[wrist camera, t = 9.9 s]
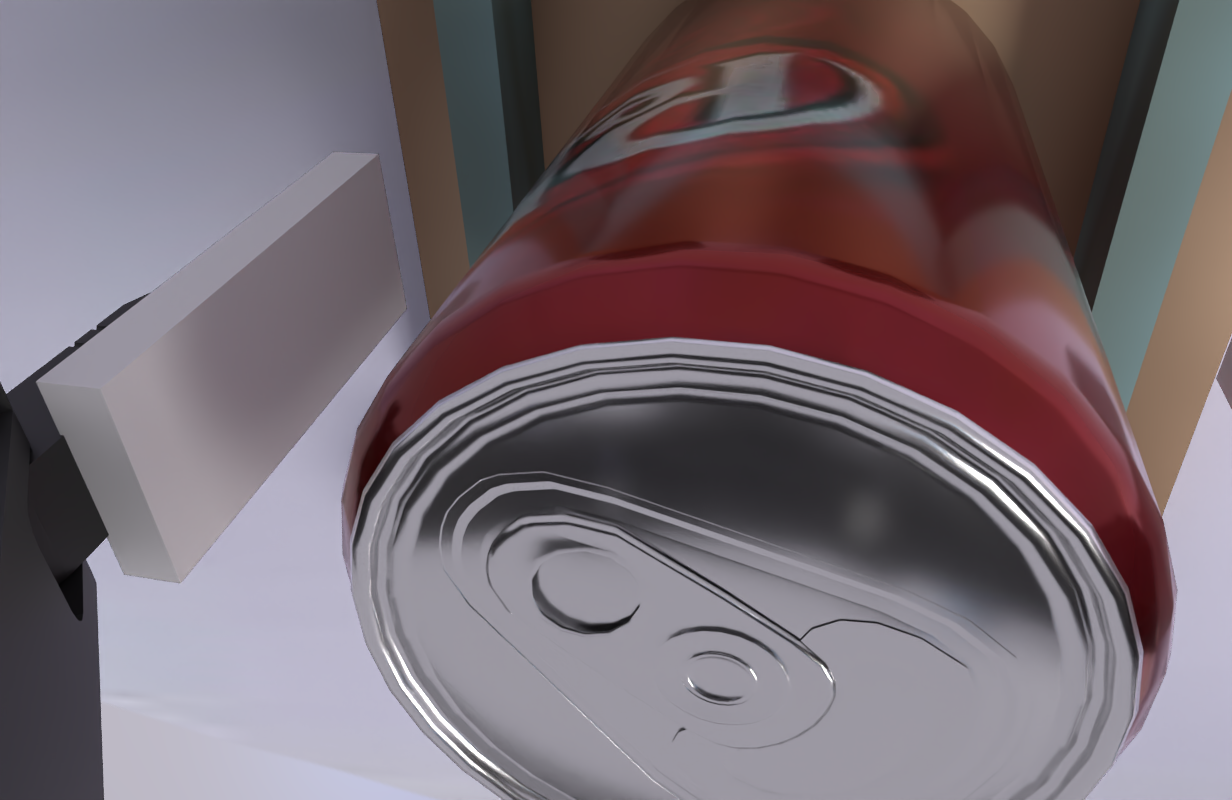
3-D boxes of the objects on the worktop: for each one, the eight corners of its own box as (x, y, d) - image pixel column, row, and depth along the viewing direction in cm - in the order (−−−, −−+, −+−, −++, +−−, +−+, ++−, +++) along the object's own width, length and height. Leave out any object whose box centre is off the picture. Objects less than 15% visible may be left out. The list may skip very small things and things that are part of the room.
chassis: (1615, -807, 11) (2046, -1120, 7) (1108, 593, 23) (1154, 773, 19) (308, -630, 14) (77, -771, 10) (483, 511, 26) (411, 651, 23)
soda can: (1113, 146, 16) (1430, 745, 7) (811, 392, 20) (744, 979, 11) (798, -159, 15) (635, 56, 5) (542, 172, 19) (192, 628, 9)
